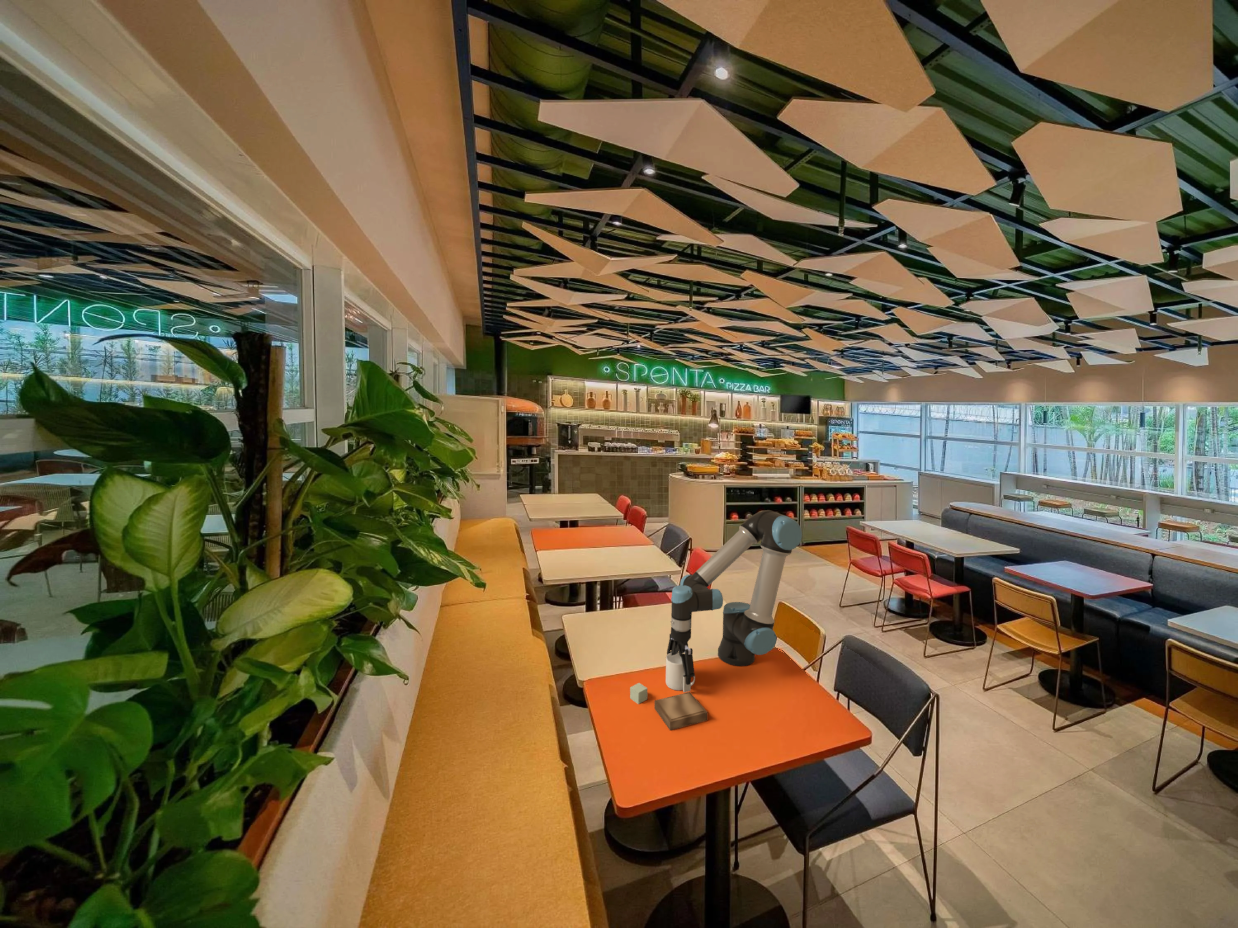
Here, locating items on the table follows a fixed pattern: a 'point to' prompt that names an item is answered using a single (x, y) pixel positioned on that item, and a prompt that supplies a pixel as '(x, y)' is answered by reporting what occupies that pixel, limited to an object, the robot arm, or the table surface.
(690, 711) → the slab
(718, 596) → the robot arm
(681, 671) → the mug
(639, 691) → the sage block
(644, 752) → the table surface
